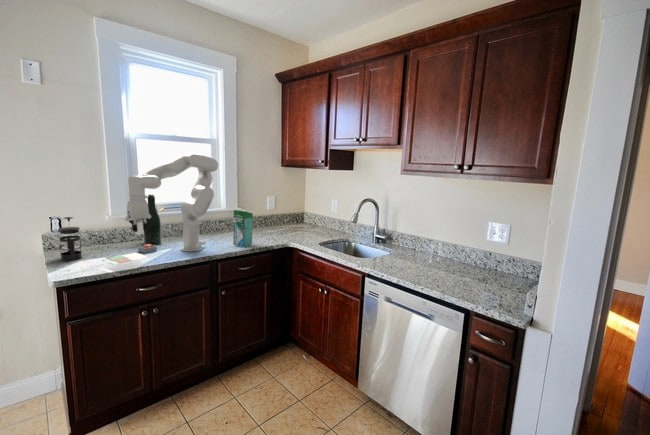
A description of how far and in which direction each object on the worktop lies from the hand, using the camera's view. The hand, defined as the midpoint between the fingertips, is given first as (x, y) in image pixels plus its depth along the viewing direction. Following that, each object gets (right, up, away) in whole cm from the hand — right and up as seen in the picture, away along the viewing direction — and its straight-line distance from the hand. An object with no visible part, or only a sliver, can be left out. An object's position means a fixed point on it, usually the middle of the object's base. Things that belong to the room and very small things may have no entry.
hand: (139, 230), depth 177 cm
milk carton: (+47, -12, +43) cm, 65 cm away
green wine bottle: (-12, -10, +36) cm, 39 cm away
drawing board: (-7, -16, -1) cm, 18 cm away
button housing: (-3, -14, +14) cm, 20 cm away
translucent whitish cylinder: (0, -2, 0) cm, 2 cm away
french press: (-34, -16, -4) cm, 38 cm away
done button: (-3, -12, +14) cm, 19 cm away
